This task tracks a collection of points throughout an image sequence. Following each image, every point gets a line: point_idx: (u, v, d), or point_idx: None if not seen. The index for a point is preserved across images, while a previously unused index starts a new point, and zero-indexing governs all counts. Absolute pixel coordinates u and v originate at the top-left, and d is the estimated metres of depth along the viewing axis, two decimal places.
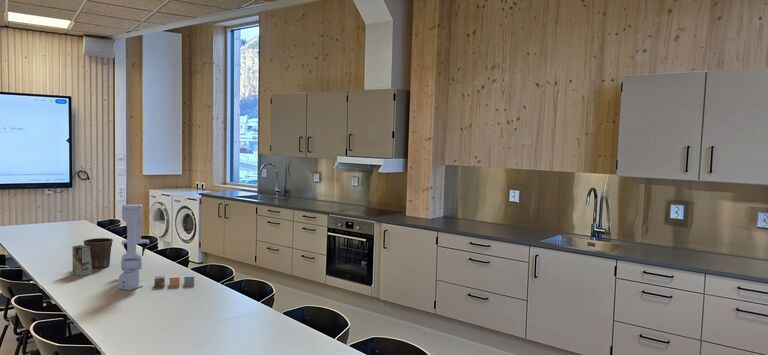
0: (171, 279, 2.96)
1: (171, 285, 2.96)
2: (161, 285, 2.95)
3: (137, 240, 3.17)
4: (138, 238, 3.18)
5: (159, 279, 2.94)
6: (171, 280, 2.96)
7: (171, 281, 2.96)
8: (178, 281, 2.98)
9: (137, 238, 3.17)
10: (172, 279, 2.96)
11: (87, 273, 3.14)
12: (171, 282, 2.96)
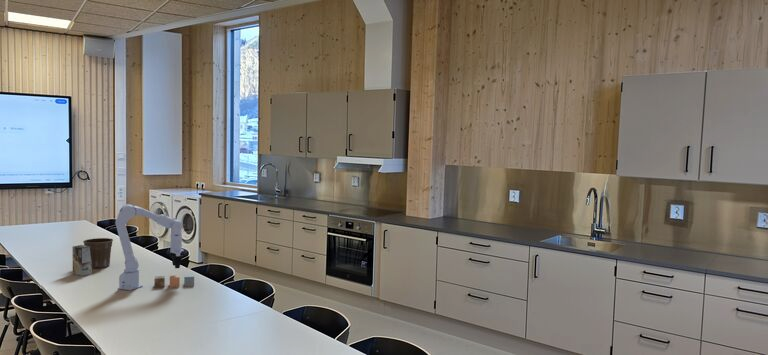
0: (171, 279, 2.96)
1: (171, 285, 2.96)
2: (161, 285, 2.95)
3: (171, 249, 2.99)
4: (172, 247, 2.99)
5: (159, 279, 2.94)
6: (171, 280, 2.96)
7: (171, 281, 2.96)
8: (178, 281, 2.98)
9: (171, 246, 2.99)
10: (172, 279, 2.96)
11: (87, 273, 3.14)
12: (171, 282, 2.96)
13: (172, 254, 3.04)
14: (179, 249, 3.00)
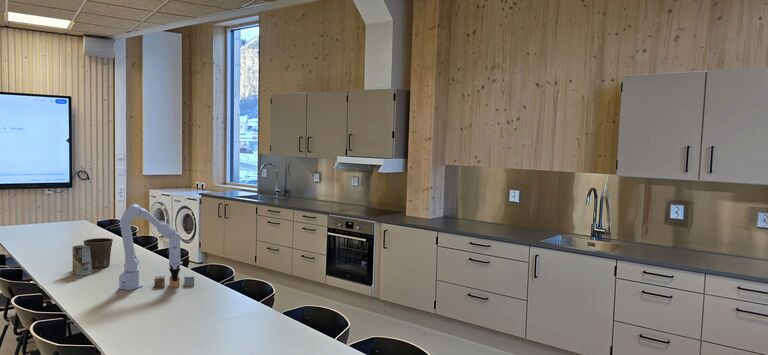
0: (171, 279, 2.96)
1: (171, 285, 2.96)
2: (161, 285, 2.95)
3: (169, 261, 2.97)
4: (170, 259, 2.96)
5: (159, 279, 2.94)
6: (171, 280, 2.96)
7: (171, 281, 2.96)
8: (178, 281, 2.98)
9: (169, 259, 2.96)
10: None
11: (87, 273, 3.14)
12: (171, 282, 2.96)
13: (172, 266, 3.02)
14: (177, 262, 2.97)
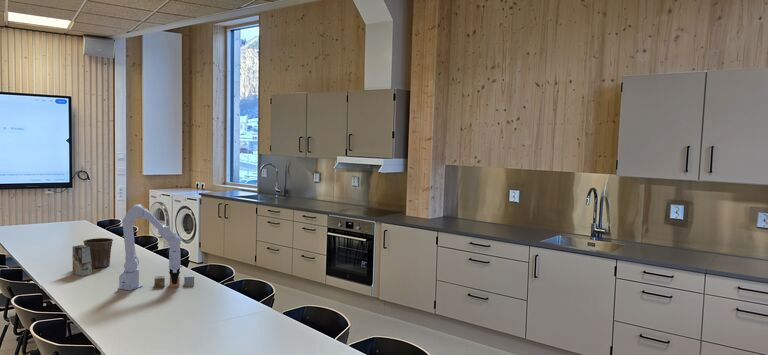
0: (171, 279, 2.96)
1: (171, 285, 2.96)
2: (161, 285, 2.95)
3: (169, 265, 2.97)
4: (170, 263, 2.96)
5: (159, 279, 2.94)
6: (171, 280, 2.96)
7: (171, 281, 2.96)
8: (178, 281, 2.98)
9: (169, 262, 2.97)
10: None
11: (87, 273, 3.14)
12: (171, 282, 2.96)
13: (171, 270, 3.01)
14: (177, 265, 2.97)
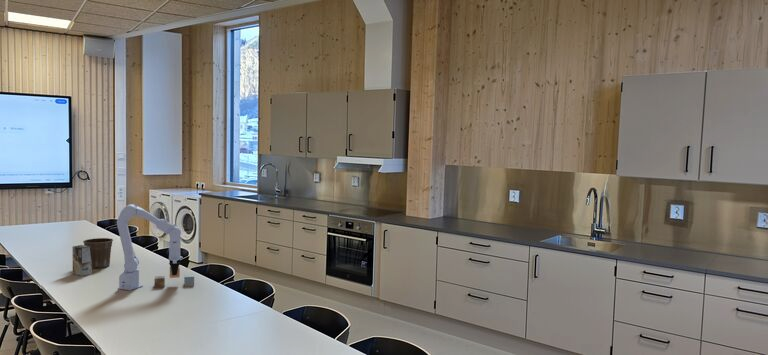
0: (171, 270, 2.96)
1: (171, 276, 2.96)
2: (161, 285, 2.95)
3: (169, 255, 2.96)
4: (170, 254, 2.96)
5: (159, 279, 2.94)
6: (171, 271, 2.96)
7: (171, 272, 2.96)
8: (178, 272, 2.97)
9: (169, 253, 2.96)
10: None
11: (87, 273, 3.14)
12: (171, 273, 2.96)
13: (172, 261, 3.01)
14: (177, 256, 2.97)
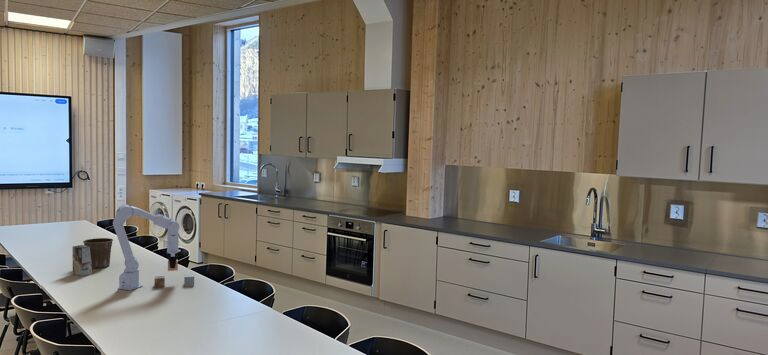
0: (169, 263, 2.99)
1: (169, 269, 2.99)
2: (161, 285, 2.95)
3: (167, 249, 2.99)
4: (168, 247, 2.99)
5: (159, 279, 2.94)
6: (169, 264, 2.99)
7: (169, 265, 2.99)
8: (176, 265, 3.00)
9: (167, 246, 2.99)
10: None
11: (87, 273, 3.14)
12: (169, 266, 2.99)
13: (170, 254, 3.03)
14: (175, 249, 2.99)
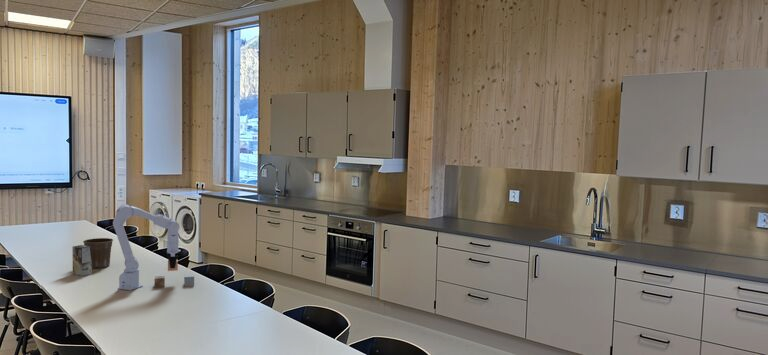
0: (169, 263, 2.99)
1: (169, 269, 2.99)
2: (161, 285, 2.95)
3: (167, 249, 2.99)
4: (168, 247, 2.99)
5: (159, 279, 2.94)
6: (169, 264, 2.99)
7: (169, 265, 2.99)
8: (176, 265, 3.00)
9: (167, 246, 2.99)
10: None
11: (87, 273, 3.14)
12: (169, 266, 2.99)
13: (170, 254, 3.03)
14: (175, 249, 2.99)
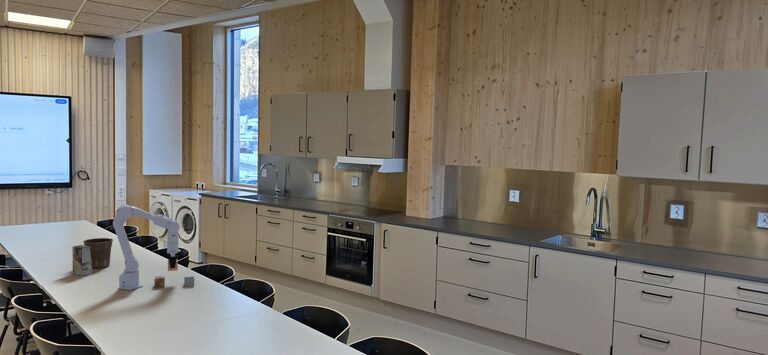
0: (169, 263, 2.99)
1: (169, 269, 2.99)
2: (161, 285, 2.95)
3: (167, 249, 2.99)
4: (168, 247, 2.99)
5: (159, 279, 2.94)
6: (169, 264, 2.99)
7: (169, 265, 2.99)
8: (176, 265, 3.00)
9: (167, 246, 2.99)
10: None
11: (87, 273, 3.14)
12: (169, 266, 2.99)
13: (170, 254, 3.03)
14: (175, 249, 2.99)
